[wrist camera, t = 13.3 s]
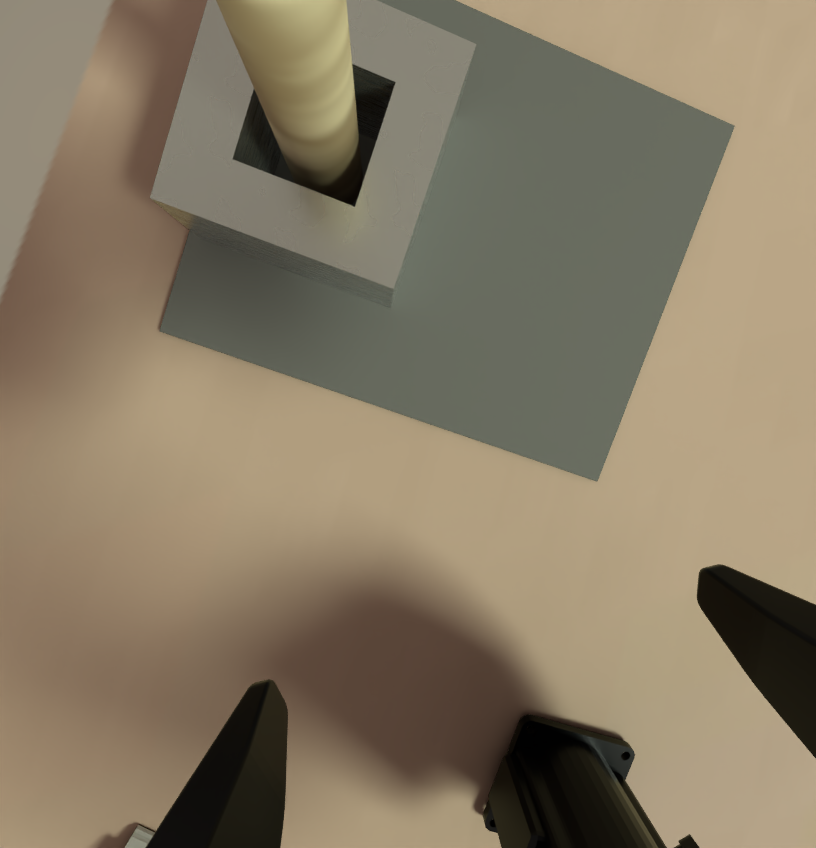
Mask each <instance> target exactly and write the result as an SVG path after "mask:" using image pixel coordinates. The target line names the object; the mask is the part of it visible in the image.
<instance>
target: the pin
mask: <svg viewBox="0 0 816 848" xmlns="http://www.w3.org/2000/svg"><path fill="white" fill-rule="evenodd" d="M216 2H217V4H218V6H219V8H220V11H221V13H222V15H223V18H224V20H225V22H226V25H227V27H228V29H229V32H230V34H231V36H232V39H233V41H234V43H235V45H236V48H237V50H238V52H239V55H240V57H241V59H242V62H243V64H244V66H245V69H246V71H247V73H248V75H249V78H250V80H251V82H252V85H253V87H254V89H255V92H256V94H257V96H258V99H259V101H260V103H261V106H262V108H263V110H264V112H265V115H266V117H267V119H268V122H269V124H270V126H271V129H272V131H273V133H274V136H275V138H276V140H277V143H278V145H279V147H280V149H281V152H282V154H283V156H284V159H285V161H286V163H287V166H288V168H289V170H290V173H291V175H292V177H293V180H294V182H295V184H298V185H300V186H303V187H305V188H308V189H311V190H313V191H316V192H318V193H321V194H323V195H326V196H328V197H331V198H334V199H336V200H339V201H341V202H344V203H346V204H349V205H351V204H352V203H353V202H354V201H355V200H356V198H357V197H358V195H359V193H360V190H361V187H362V181H363V176H362V165H361V154H360V143H359V133H358V122H357V111H356V100H355V89H354V78H353V67H352V56H351V46H350V35H349V24H348V13H347V2H346V0H216Z"/></svg>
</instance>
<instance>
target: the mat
mask: <svg viewBox="0 0 816 848" xmlns="http://www.w3.org/2000/svg"><path fill="white" fill-rule="evenodd" d="M377 1H380V2H382V3H384V4H387V5H389V6H391V7H393V8H396V9H398V10H400V11H402V12H405V13H407V14H409V15H412V16H414V17H416V18H418V19H421V20H423V21H425V22H427V23H430V24H432V25H434V26H436V27H439V28H441V29H443V30H446V31H448V32H450V33H452V34H455V35H457V36H459V37H461V38H464V39H466V40H468V41H470V42H473V43H475V44H476V47H475V51H474V55H473V58H472V62H471V65H470V69H469V72H468V76H467V79H466V83H465V86H464V90H463V94H462V97H461V101H460V104H459V108H458V111H457V115H456V118H455V121H454V124H453V127H452V130H451V133H450V136H449V139H448V142H447V145H446V148H445V151H444V154H443V156H442V159H441V162H440V165H439V168H438V171H437V174H436V177H435V180H434V183H433V186H432V189H431V192H430V195H429V198H428V201H427V204H426V207H425V210H424V212H423V215H422V218H421V221H420V224H419V227H418V230H417V233H416V236H415V239H414V242H413V245H412V248H411V251H410V254H409V257H408V260H407V263H406V266H405V269H404V271H403V274H402V277H401V280H400V283H399V286H398V289H397V292H396V295H395V298H394V301H393V304H392V307H391V309H390V308H388V307H385V306H382V305H379V304H377V303H374V302H371V301H369V300H366V299H363V298H360V297H358V296H355V295H352V294H350V293H347V292H344V291H341V290H339V289H336V288H333V287H331V286H328V285H325V284H322V283H320V282H317V281H314V280H312V279H309V278H306V277H303V276H301V275H298V274H295V273H293V272H290V271H287V270H284V269H282V268H279V267H276V266H273V265H271V264H268V263H265V262H263V261H260V260H257V259H254V258H252V257H249V256H246V255H244V254H241V253H238V252H235V251H233V250H230V249H227V248H225V247H222V246H219V245H216V244H214V243H211V242H208V241H206V240H203V239H200V238H199V237H197V236H196V235H195V234H194V233H192V232H191V231H189V234H188V238H187V241H186V244H185V248H184V251H183V254H182V258H181V261H180V264H179V268H178V271H177V274H176V278H175V281H174V284H173V288H172V291H171V294H170V298H169V301H168V304H167V308H166V311H165V314H164V318H163V321H162V324H161V328H160V332H163V333H166V334H169V335H172V336H175V337H178V338H181V339H184V340H186V341H189V342H192V343H195V344H198V345H201V346H204V347H207V348H210V349H213V350H216V351H218V352H221V353H224V354H227V355H230V356H233V357H236V358H239V359H242V360H245V361H248V362H250V363H253V364H256V365H259V366H262V367H265V368H268V369H271V370H274V371H277V372H280V373H283V374H285V375H288V376H291V377H294V378H297V379H300V380H303V381H306V382H309V383H312V384H315V385H317V386H320V387H323V388H326V389H329V390H332V391H335V392H338V393H341V394H344V395H347V396H349V397H352V398H355V399H358V400H361V401H364V402H367V403H370V404H373V405H376V406H379V407H381V408H384V409H387V410H390V411H393V412H396V413H399V414H402V415H405V416H408V417H411V418H414V419H416V420H419V421H422V422H425V423H428V424H431V425H434V426H437V427H440V428H443V429H446V430H448V431H451V432H454V433H457V434H460V435H463V436H466V437H469V438H472V439H475V440H478V441H480V442H483V443H486V444H489V445H492V446H495V447H498V448H501V449H504V450H507V451H510V452H512V453H515V454H518V455H521V456H524V457H527V458H530V459H533V460H536V461H539V462H542V463H545V464H547V465H550V466H553V467H556V468H559V469H562V470H565V471H568V472H571V473H574V474H577V475H579V476H582V477H585V478H588V479H591V480H594V481H598V479H599V476H600V473H601V471H602V468H603V466H604V463H605V460H606V458H607V455H608V453H609V450H610V447H611V445H612V442H613V440H614V437H615V435H616V432H617V429H618V427H619V424H620V422H621V419H622V416H623V414H624V411H625V409H626V406H627V403H628V401H629V398H630V396H631V393H632V391H633V388H634V385H635V383H636V380H637V378H638V375H639V372H640V370H641V367H642V365H643V362H644V359H645V357H646V354H647V352H648V349H649V347H650V344H651V341H652V339H653V336H654V334H655V331H656V328H657V326H658V323H659V321H660V318H661V315H662V313H663V310H664V308H665V305H666V303H667V300H668V297H669V295H670V292H671V290H672V287H673V284H674V282H675V279H676V277H677V274H678V271H679V269H680V266H681V264H682V261H683V259H684V256H685V253H686V251H687V248H688V246H689V243H690V240H691V238H692V235H693V233H694V230H695V227H696V225H697V222H698V220H699V217H700V215H701V212H702V209H703V207H704V204H705V202H706V199H707V196H708V194H709V191H710V189H711V186H712V183H713V181H714V178H715V176H716V173H717V171H718V168H719V165H720V163H721V160H722V158H723V155H724V152H725V150H726V147H727V145H728V142H729V140H730V137H731V134H732V132H733V129H734V127H735V126H734V125H731V124H729V123H727V122H725V121H723V120H720V119H718V118H716V117H714V116H711V115H709V114H707V113H705V112H703V111H700V110H698V109H696V108H694V107H691V106H689V105H687V104H685V103H683V102H680V101H678V100H676V99H674V98H671V97H669V96H667V95H665V94H662V93H660V92H658V91H656V90H654V89H651V88H649V87H647V86H645V85H642V84H640V83H638V82H636V81H634V80H631V79H629V78H627V77H625V76H622V75H620V74H618V73H616V72H614V71H611V70H609V69H607V68H605V67H602V66H600V65H598V64H596V63H593V62H591V61H589V60H587V59H585V58H582V57H580V56H578V55H576V54H573V53H571V52H569V51H567V50H565V49H562V48H560V47H558V46H556V45H553V44H551V43H549V42H547V41H545V40H542V39H540V38H538V37H536V36H533V35H531V34H529V33H527V32H524V31H522V30H520V29H518V28H516V27H513V26H511V25H509V24H507V23H504V22H502V21H500V20H498V19H496V18H493V17H491V16H489V15H487V14H484V13H482V12H480V11H478V10H476V9H473V8H471V7H469V6H467V5H464V4H462V3H460V2H458V1H455V0H377ZM376 141H377V140H374V139H372V138H369V137H367V136H364V135H362V134H359V143H360V154H361V165H362V176H363V181H364V178H365V175H366V172H367V168H368V165H369V162H370V159H371V156H372V153H373V150H374V147H375V144H376ZM275 176H277V177H280V178H282V179H285V180H287V181H290V182H293V183H295V182H294V180H293V177H292V175H291V173H290V170H289V168H288V166H287V163H286V161H285V159H284V156H283V154H282V153H281V156H280V159H279V162H278V166H277V169H276V172H275ZM363 181H362V184H363ZM358 196H359V195H358ZM357 199H358V197H357V198H356V200H355V201H354V202H353V203H352V204H351V205H352V206H354V207H355V205H356V202H357Z"/></svg>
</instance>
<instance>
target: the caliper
mask: <svg viewBox="0 0 816 848" xmlns="http://www.w3.org/2000/svg"><path fill="white" fill-rule="evenodd" d="M154 833H155V832H152V831H150V830H148V829H146V828H144V827H142V826H140V825H138V826H137V828H136V829H135V831H134V833H133V834H132V836H131V837H130V839H129V841H128V842H127V844H126V845H125V847H124V848H145V847H146V846H147V844H148V843H149V841H150V840H151V838H152V837H153V835H154Z"/></svg>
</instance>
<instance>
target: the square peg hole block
mask: <svg viewBox="0 0 816 848" xmlns="http://www.w3.org/2000/svg"><path fill="white" fill-rule="evenodd" d="M346 2H347V13H348V24H349V35H350V46H351V56H352V67H353V78H354V89H355V100H356V111H357V122H358V133H359V134H362V135H364V136H367V137H369V138H372V139H374V140H377V141H376V144H375V147H374V150H373V153H372V156H371V159H370V162H369V165H368V168H367V172H366V175H365V178H364V181H363V184H362V187H361V190H360V193H359V196H358V199H357V202H356V205H355V207H354V206H352V205H349V204H346V203H344V202H341V201H339V200H336V199H334V198H331V197H328V196H326V195H323V194H321V193H318V192H316V191H313V190H311V189H308V188H305V187H303V186H300V185H298V184H295V183H293V182H290V181H287V180H285V179H282V178H280V177H277V176H275V172H276V169H277V166H278V162H279V159H280V156H281V153H282V152H281V149H280V147H279V145H278V143H277V140H276V138H275V136H274V133H273V131H272V129H271V126H270V124H269V122H268V119H267V117H266V115H265V112H264V110H263V108H262V106H261V103H260V101H259V99H258V96H257V94H256V92H255V89H254V87H253V85H252V82H251V80H250V78H249V75H248V73H247V71H246V69H245V66H244V64H243V62H242V59H241V57H240V55H239V52H238V50H237V48H236V45H235V43H234V41H233V39H232V36H231V34H230V32H229V29H228V27H227V25H226V22H225V20H224V18H223V15H222V13H221V11H220V8H219V6H218V4H217V2H216V0H207V4H206V7H205V10H204V14H203V17H202V21H201V24H200V28H199V31H198V34H197V38H196V41H195V45H194V48H193V52H192V55H191V58H190V62H189V65H188V69H187V72H186V76H185V79H184V82H183V86H182V89H181V93H180V96H179V100H178V103H177V106H176V110H175V113H174V117H173V120H172V124H171V127H170V130H169V134H168V137H167V141H166V144H165V148H164V151H163V154H162V158H161V161H160V165H159V168H158V172H157V175H156V178H155V182H154V185H153V189H152V192H151V196H150V199H152V200H153V201H154V202H155V203H157V204H158V205H159V206H160V207H162V208H163V209H164V210H165V211H166V212H168V213H169V214H170V215H171V216H173V217H174V218H175V219H176V220H178V221H179V222H180V223H181V224H183V225H184V226H185V227H186V228H188V229H189V230H190V231H191V232H192V233H194V234H195V235H196V236H197V237H199V238H200V239H203V240H206V241H208V242H211V243H214V244H216V245H219V246H222V247H225V248H227V249H230V250H233V251H235V252H238V253H241V254H244V255H246V256H249V257H252V258H254V259H257V260H260V261H263V262H265V263H268V264H271V265H273V266H276V267H279V268H282V269H284V270H287V271H290V272H293V273H295V274H298V275H301V276H303V277H306V278H309V279H312V280H314V281H317V282H320V283H322V284H325V285H328V286H331V287H333V288H336V289H339V290H341V291H344V292H347V293H350V294H352V295H355V296H358V297H360V298H363V299H366V300H369V301H371V302H374V303H377V304H379V305H382V306H385V307H388V308H390V309H391V307H392V304H393V301H394V298H395V295H396V292H397V289H398V286H399V283H400V280H401V277H402V274H403V271H404V269H405V266H406V263H407V260H408V257H409V254H410V251H411V248H412V245H413V242H414V239H415V236H416V233H417V230H418V227H419V224H420V221H421V218H422V215H423V212H424V210H425V207H426V204H427V201H428V198H429V195H430V192H431V189H432V186H433V183H434V180H435V177H436V174H437V171H438V168H439V165H440V162H441V159H442V156H443V154H444V151H445V148H446V145H447V142H448V139H449V136H450V133H451V130H452V127H453V124H454V121H455V118H456V115H457V111H458V108H459V104H460V101H461V97H462V94H463V90H464V86H465V83H466V79H467V76H468V72H469V69H470V65H471V62H472V58H473V55H474V51H475V47H476V44H475V43H473V42H470V41H468V40H466V39H464V38H461V37H459V36H457V35H455V34H452V33H450V32H448V31H446V30H443V29H441V28H439V27H436V26H434V25H432V24H430V23H427V22H425V21H423V20H421V19H418V18H416V17H414V16H412V15H409V14H407V13H405V12H402V11H400V10H398V9H396V8H393V7H391V6H389V5H387V4H384V3H382V2H380V1H377V0H346Z"/></svg>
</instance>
